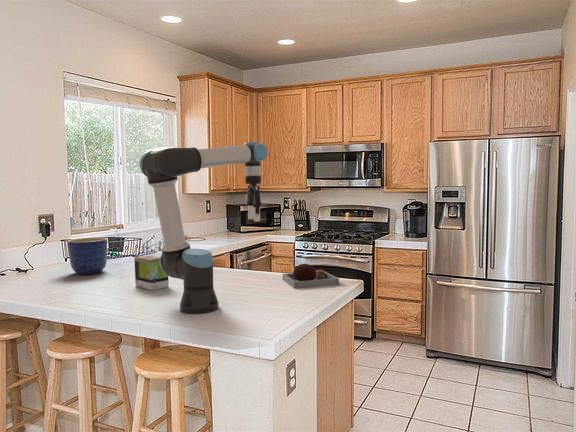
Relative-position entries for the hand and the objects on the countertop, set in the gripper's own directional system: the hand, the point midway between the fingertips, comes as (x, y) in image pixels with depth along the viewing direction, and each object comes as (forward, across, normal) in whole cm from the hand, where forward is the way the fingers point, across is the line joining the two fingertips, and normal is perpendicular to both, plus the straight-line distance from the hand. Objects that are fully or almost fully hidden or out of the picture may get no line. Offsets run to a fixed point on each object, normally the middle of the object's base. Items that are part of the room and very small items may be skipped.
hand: (254, 220), depth 224 cm
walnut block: (+31, +1, -33) cm, 45 cm away
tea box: (+32, +16, +48) cm, 60 cm away
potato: (+31, -5, -23) cm, 39 cm away
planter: (+32, +65, +82) cm, 109 cm away
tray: (+32, -5, -26) cm, 41 cm away
